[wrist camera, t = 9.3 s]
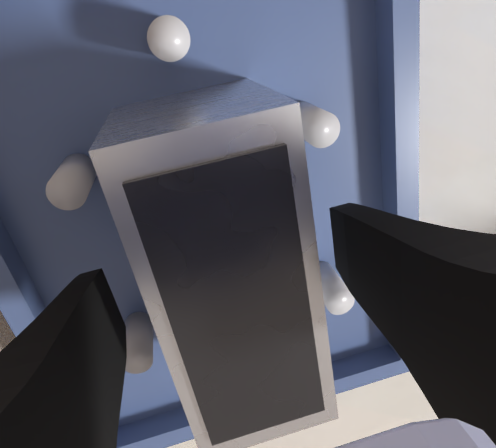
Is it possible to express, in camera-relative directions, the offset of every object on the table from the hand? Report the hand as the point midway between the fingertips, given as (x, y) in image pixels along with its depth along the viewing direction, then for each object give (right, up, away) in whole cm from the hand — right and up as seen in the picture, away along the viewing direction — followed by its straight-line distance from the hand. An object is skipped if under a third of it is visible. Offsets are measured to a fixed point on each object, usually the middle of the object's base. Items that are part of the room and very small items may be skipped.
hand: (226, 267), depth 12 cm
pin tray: (-1, +2, +3) cm, 4 cm away
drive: (-1, +1, +2) cm, 3 cm away
